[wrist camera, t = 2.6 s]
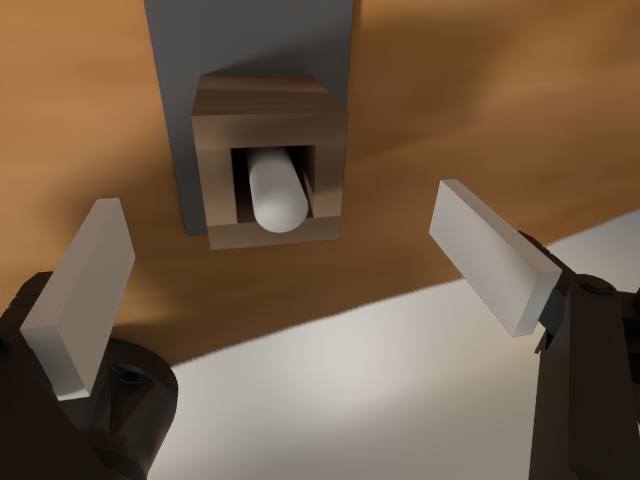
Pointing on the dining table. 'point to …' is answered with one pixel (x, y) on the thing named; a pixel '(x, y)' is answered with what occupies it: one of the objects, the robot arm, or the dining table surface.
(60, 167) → the dining table surface
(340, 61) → the post stand
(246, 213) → the walnut collar
